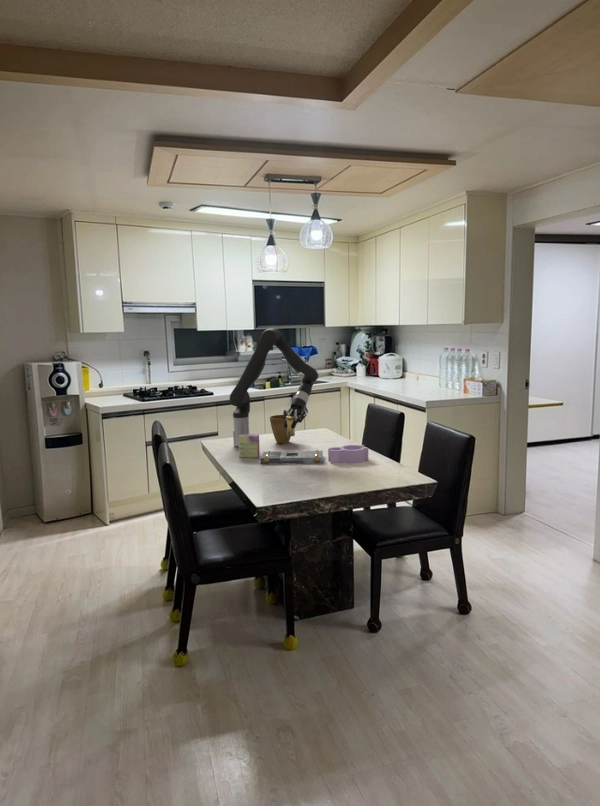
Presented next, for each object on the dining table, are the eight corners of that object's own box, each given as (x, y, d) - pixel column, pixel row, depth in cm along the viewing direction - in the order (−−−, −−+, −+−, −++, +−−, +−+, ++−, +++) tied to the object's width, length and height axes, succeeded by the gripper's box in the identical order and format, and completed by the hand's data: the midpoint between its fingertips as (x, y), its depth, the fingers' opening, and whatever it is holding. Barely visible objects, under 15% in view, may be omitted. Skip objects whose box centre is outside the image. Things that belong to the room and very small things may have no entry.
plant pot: (295, 445, 305) (294, 418, 302) (269, 445, 305) (268, 419, 303) (295, 439, 320) (294, 414, 317) (271, 440, 320) (270, 414, 317)
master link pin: (286, 436, 270) (285, 417, 268) (286, 434, 275) (285, 416, 273) (295, 436, 270) (294, 417, 268) (295, 434, 274) (295, 415, 273)
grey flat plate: (260, 464, 266) (260, 458, 265) (263, 456, 281) (263, 450, 280) (322, 463, 264) (322, 457, 264) (322, 455, 279) (322, 450, 279)
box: (259, 454, 285) (259, 433, 283) (258, 457, 279) (257, 436, 277) (241, 455, 286) (240, 434, 284) (239, 457, 280) (238, 436, 278)
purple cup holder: (332, 465, 260) (332, 452, 259) (326, 459, 272) (325, 446, 271) (370, 462, 265) (370, 449, 263) (362, 456, 277) (362, 443, 276)
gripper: (286, 396, 279) (274, 422, 271) (308, 397, 272) (297, 424, 263) (291, 404, 284) (280, 430, 276) (314, 406, 277) (303, 432, 269)
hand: (288, 427), depth 270 cm, fingers closed on master link pin, 4 cm apart
